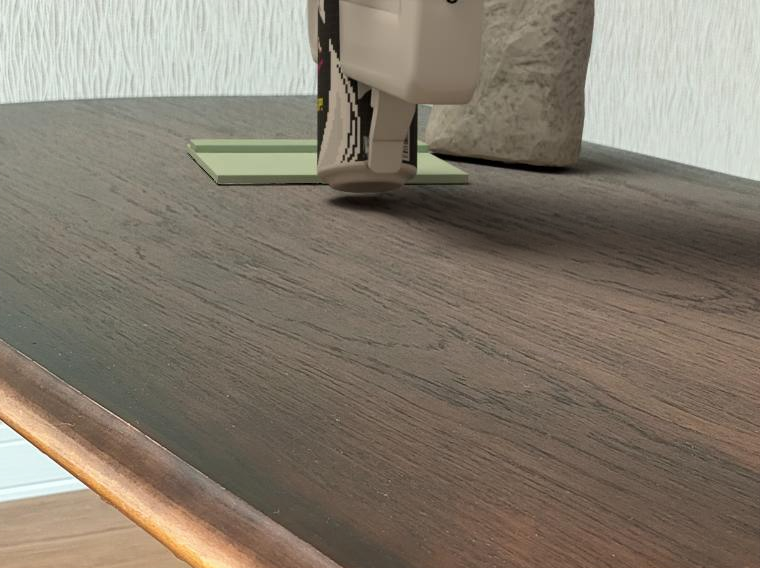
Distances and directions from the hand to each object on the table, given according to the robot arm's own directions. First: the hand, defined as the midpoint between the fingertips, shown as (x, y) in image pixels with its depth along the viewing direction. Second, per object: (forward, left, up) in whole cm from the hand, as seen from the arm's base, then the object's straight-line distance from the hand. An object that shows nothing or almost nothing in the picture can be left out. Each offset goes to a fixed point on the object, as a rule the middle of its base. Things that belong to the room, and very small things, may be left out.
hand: (377, 169), depth 81 cm
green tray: (-1, -14, -2) cm, 15 cm away
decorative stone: (-14, -17, -3) cm, 22 cm away
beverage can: (0, -2, -2) cm, 3 cm away
